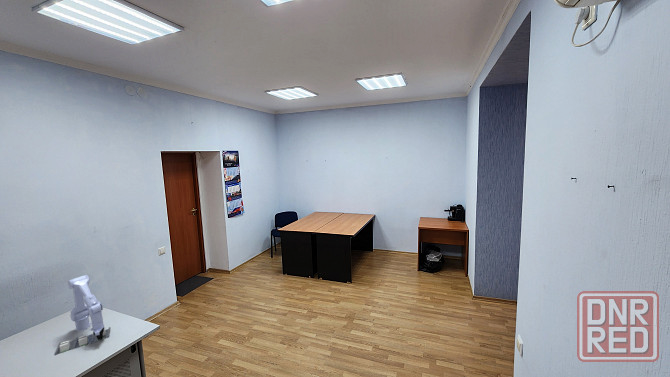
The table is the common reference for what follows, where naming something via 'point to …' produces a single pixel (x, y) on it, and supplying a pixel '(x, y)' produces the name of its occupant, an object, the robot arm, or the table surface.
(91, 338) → the panel
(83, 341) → the block
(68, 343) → the breaker right
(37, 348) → the table surface
